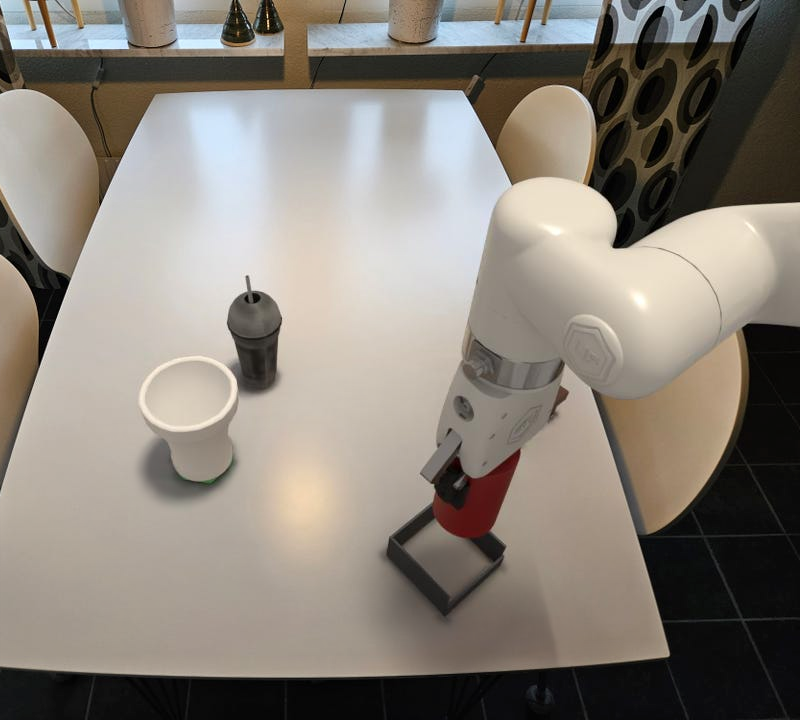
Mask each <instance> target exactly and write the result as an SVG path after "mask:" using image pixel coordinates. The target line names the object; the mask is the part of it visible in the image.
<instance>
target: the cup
mask: <svg viewBox="0 0 800 720" xmlns="http://www.w3.org/2000/svg"><path fill="white" fill-rule="evenodd" d="M237 381H238V380H237V377H236V376H235V375H234V373H233V372H232V371H231V369H230V368H228V367H227V366H226V365H225V364H224V363H222V362H220V361H218V360H216V359H214V358H211V357H208V356H205V355H188V356H183V357H182V356H181V357H177V358H174V359H172V360H169V361H166V362H164V363H163V364H161V365H158V366H157V367H155V368H154V369H153V370H152V371H151V372H150V373H149V374H148V375H147V376H146V378H145V380H144V381H143V383H142V384H141V386H140V389H139V393H138V407H139V410H140V413H141V416H142V418H143V420H144V422H145V425H146V426H147V427H148V428H149V430H151V431H152V433H153V434H155V435H157V437H160V438H162V439H163V440H165V442H167V445H168V447H169V449H170V459H171V462H172V465H173V467H174V469H175V471H176V473H177V474H178V476H179V477H180V478H181V479H182V480H186V481H193V482H199V483H200V482H201V483H206V484H209V485H210V484H212V483H213V482H215V480H217V478H218V477H220V476H221V475H222V474H223V473H225V472H226V470H227V469H229V468H230V467H231V465H232V464H233V454H234V453H233V444H232V440H231V438H230V437H229V427H230V424H231V422H232V421H233V419H234V417H235V415H236V413H237V411H238V408H239V407H238V406H239V389H238V382H237Z"/></svg>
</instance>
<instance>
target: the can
mask: <svg viewBox="0 0 800 720" xmlns="http://www.w3.org/2000/svg"><path fill="white" fill-rule="evenodd" d="M521 450H522V448H521V449H520V448H519V449H518V450H517V451H516V452H514V453H513V454H512V455H511V456H510V457H508V458H507V459H506V460H505V461H503V462H502V463H501V464H500V465H498V466H497V467H496V468H495V469H493V470H492V471H491V472H489V473H488V474H487V475H485V476H483V477H480V478H471V477H469V479H468V480H467V481H468V482H469V483H470V487H469V491H468V494H467V497H466V501H465V504H464V507H463V508H462V509H461V510H459V511H458V510H456V509H455V508H454V507H453V506H452V505H451V504H450V503H445V502H444V501H443V500H442V499H441V498H440V497H439V496H438V495H437V492H436V490H435V489H434V494H433V500H432V502H433V506H432V507H433V513H434V516H435V518H434V519H435V520H436V522H437V523H438V524H439V526H440V527H441V528H442V529H443V530H444V531H446V532H448V533H449V534H451V535H453V536H456V537H458V538H463V539H468V538H476V537H480V536H482V535H484V534H486V533H487V532H489V531H491V530H492V529H493V528H494V526H495V524H496V521H497V520H498V516H499V514H500V511H501V509H502V507H503V503H504V501H505V499H506V496H507V493H508V491H509V487H510V485H511V483H512V481H513V478H514V474H515V472H516V470H517V467H518V465H519V462H520V459H521V453H522V451H521ZM451 464H452V465H453V466H454V467H455V468H456V469H457V470H459V471H461V470H462V465H461V462H460V461H458V460H457V459H456V458H454V460H453V461H452V462H451Z"/></svg>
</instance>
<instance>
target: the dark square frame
mask: <svg viewBox="0 0 800 720" xmlns="http://www.w3.org/2000/svg"><path fill="white" fill-rule="evenodd" d="M432 506H433V501H431V502H430V504H428V505H427V506H426V507H425V508H423V509H422V510H421V511H419V512H418V513H417V514H416V515H414V516H413V517H412V518H411V519H409V520H408V521H407V522H406V523H404V524H403V525H402V526H401V527H399V528H398V529H397V530H396V531H394V532H393V533H392V534H391V535H390V536H389V537H388V540H387V548H386V554H385V556H386V557H387V558H388V559H389V560H390V561H391V562H392V563H393V564H394V565H395V566H396V568H397V569H398V570H399V571H400V572H401V573H402V574H403V575H404V576H405V577H406V578H407V579H408V580H409V582H411V584H413V585H414V587H416V589H417V590H418V591H419V592H420V593H421V594H422V595H423V596H424V597H425V598H426V600H427V601H429V603H430V604H431V605H433V607H434V608H435V609H436V610H437V611H438V612H439V613H440V615H441V616H443V617H444V618H446V617H447V616H448V615H449V614H450V613H451V612H452V611H453V610H454V609H456V608H457V606H459V605H460V604H461V603H462V602H463V601H464V600H465V599H466V598H467V597H469V596H470V594H472V593H473V592H474V591H475V590H476V589H477V588H478V587H480V586H481V584H482V583H483V582H484V581H486V580H487V579H488V578H489V577H490V576H491V575H492V574H494V572H496V570H498V569H499V568H500V567H501V565H502V563H503V561H504V559H505V557H506V555H505V554H504V553H505V551H506V549H507V547H508V545H507V544H505V543H504V542H503V540H501V539H500V538H499V537H498V536H497V535H495V534H494V533H493V532H492V531H491V530H490V531H489V532H487V533H486V534H484V535H482V536H480V537H476V538H467V539H468V540H469V541H470V542H471V543H472V544H473V545H475V546H476V547H477V549H478V550H480V551H481V552H482V554H484V555H485V556H486V557H487V558H488V559H489V560H490V561H491V562H493V563H492V564H490V565H489V567H487V568H486V569H485V570H484V571H482V573H480V575H479V576H478V577H476V578H475V579H474V580H473V581H472V582H471V583H470V584H469V585H468V586H466V587H465V588H464V589H463V590H462V591H461V592H460V593H459V594H458V595H457V596H456V597H455V598H453V600H451V598H452V597H451V595H450V594H449V593H448V592H447V591H446V590H444V588H443V587H442V586H441V585H440V584H439V583H438V582H437V581H436V580H435V579H434V578H433V577H432V576H431V575H430V574H429V573H428V572H427V571H426V570H425V569H424V568H423V567H422V565H420V564H419V563H418V561H416V559H414V557H413V556H412V555H411V554H410V553H409V552H408V551H407V549H405V548H404V547H403V545H404V544H405V543H407V542H409V540H410V539H411V538H412V537H414V536H415V535H417V534H418V533H419V532H420V531H421V530H422V529H423V528H425V527H426V526H428V524H430V523H431V522H432V521H434V519H436V518H435V516H434V513H433V507H432ZM450 600H451V601H450Z"/></svg>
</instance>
